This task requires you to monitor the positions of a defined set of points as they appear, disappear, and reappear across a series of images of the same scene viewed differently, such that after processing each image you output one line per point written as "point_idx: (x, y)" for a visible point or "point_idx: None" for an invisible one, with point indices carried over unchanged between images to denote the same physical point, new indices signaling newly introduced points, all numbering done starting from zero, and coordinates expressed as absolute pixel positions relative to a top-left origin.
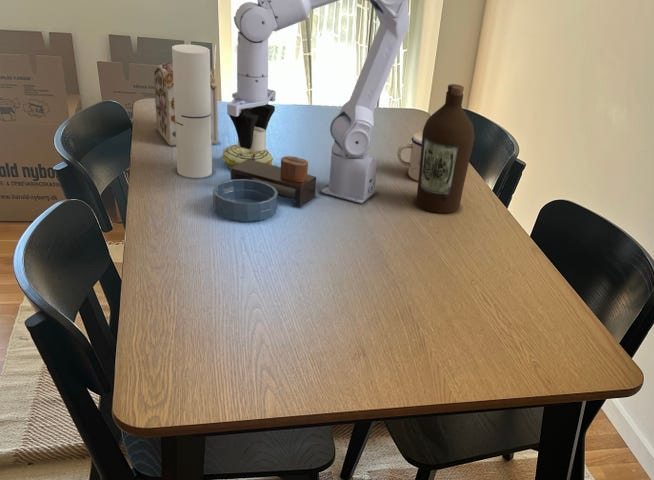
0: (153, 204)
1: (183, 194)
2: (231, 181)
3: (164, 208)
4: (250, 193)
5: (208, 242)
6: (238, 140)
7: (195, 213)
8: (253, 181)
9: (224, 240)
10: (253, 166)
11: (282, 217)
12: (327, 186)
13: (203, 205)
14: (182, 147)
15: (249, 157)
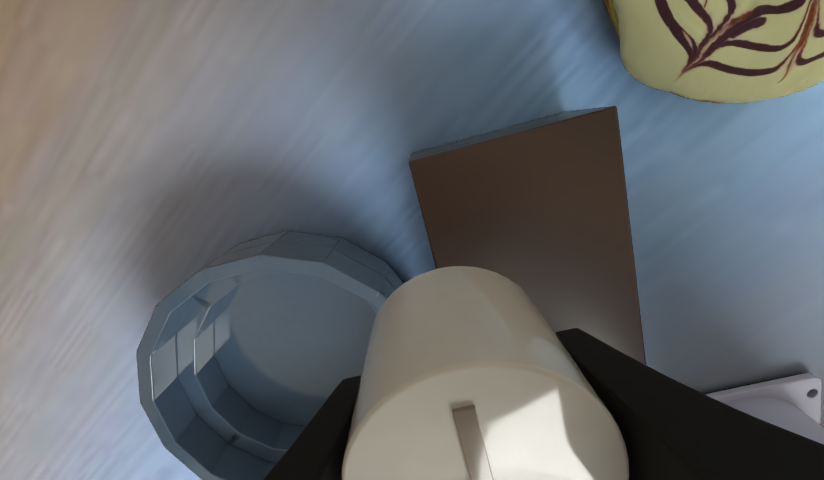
0: (14, 77)
1: (190, 68)
2: (309, 273)
3: (40, 142)
4: None
5: (53, 437)
6: (370, 345)
7: (130, 254)
8: None
9: (106, 454)
10: (535, 220)
11: None
12: (724, 397)
13: (200, 216)
14: None
15: (694, 29)
